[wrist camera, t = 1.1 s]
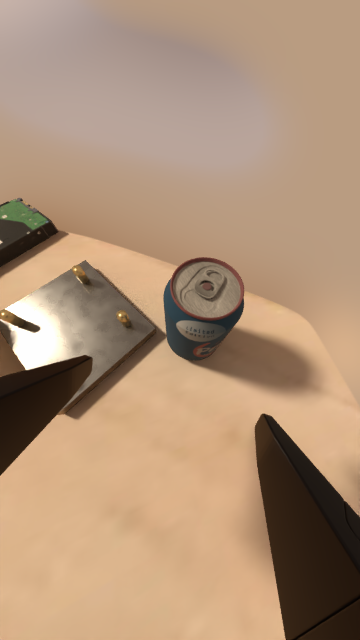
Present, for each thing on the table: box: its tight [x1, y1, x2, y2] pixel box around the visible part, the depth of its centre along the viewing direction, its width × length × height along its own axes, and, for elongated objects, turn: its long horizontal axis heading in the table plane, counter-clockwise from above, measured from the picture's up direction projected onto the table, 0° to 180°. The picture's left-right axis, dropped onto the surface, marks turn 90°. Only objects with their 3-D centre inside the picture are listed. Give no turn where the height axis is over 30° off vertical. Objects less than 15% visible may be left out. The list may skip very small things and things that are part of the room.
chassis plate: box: [0, 260, 156, 415], centre depth 23 cm, size 16×14×4 cm
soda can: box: [164, 257, 244, 360], centre depth 19 cm, size 7×7×12 cm
